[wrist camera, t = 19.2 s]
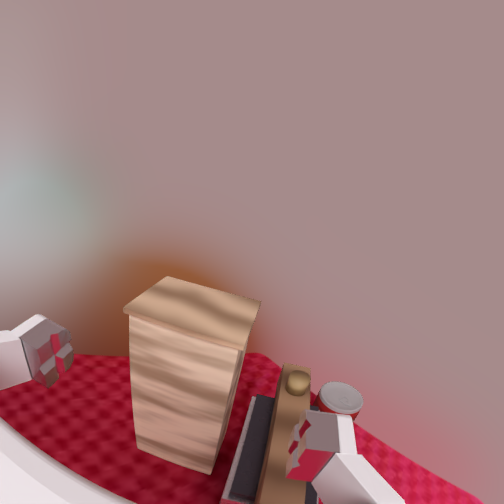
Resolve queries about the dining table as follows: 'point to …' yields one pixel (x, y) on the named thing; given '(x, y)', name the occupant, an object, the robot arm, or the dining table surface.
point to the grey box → (254, 455)
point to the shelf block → (186, 368)
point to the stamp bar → (284, 438)
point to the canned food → (339, 399)
